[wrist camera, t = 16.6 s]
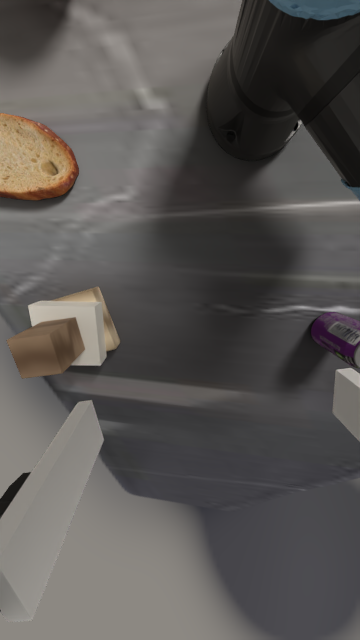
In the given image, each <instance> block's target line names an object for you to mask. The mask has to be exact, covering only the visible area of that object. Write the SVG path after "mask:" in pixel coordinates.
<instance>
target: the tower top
mask: <svg viewBox="0 0 360 640" xmlns="http://www.w3.org/2000/svg"><path fill="white" fill-rule="evenodd" d="M28 308H29V313H30V318H31V323H32V327H33V326H34V325H36V324H38V323H40V322H44V321H51V320H59V319H66V318H73V317H76V320H77V323H78V327H79V330H80V333H81V337H82V340H83V343H84V347H85V350H84V351H83V352H82V353H81V354H80V355H79V356H78V358H77V359H76V360H75V361H74V362H73V363H72V364H71V365H89V366H101V364H102V363H103V361H104V360H105V358H106V357H107V355H106V344H105V333H104V322H103V311H102V302H77V301H39V302H36V303H34V304H31V305H28Z"/></svg>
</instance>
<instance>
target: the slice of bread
mask: <svg viewBox="0 0 360 640" xmlns="http://www.w3.org/2000/svg"><path fill="white" fill-rule="evenodd" d="M78 174H79V168H78V165H77V162H76V159H75V156H74V154H73V151H72V150H71V148H70V147H69V146H68V145H67V144H66V143H65V142H64V141H63V140H62V139H61V138H60V137H58V136H57V135H56V134H55V133H54V132H53V131H52V130H50V129H49V128H48V127H47V126H45V125H43V124H41V123H38V122H34V121H32V120H29V119H26V118H24V117H19V116H14V115H8V114H4V113H0V197H5V198H13V199H22V200H42V199H45V198H53V197H58V196H61V195H63V194H65V193H66V192H67V191H68V190H69V189H70V188H71V187H72V186H73V184H74V182H75V179H76V178H77V176H78Z"/></svg>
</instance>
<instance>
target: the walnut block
mask: <svg viewBox="0 0 360 640" xmlns="http://www.w3.org/2000/svg"><path fill="white" fill-rule="evenodd" d="M7 343H8V346H9V348H10V351H11V353H12V355H13V358H14V360H15V363H16V365H17V368H18V370H19V372H20V375H21V377H22V378H31V377H38V376H46V375H54V374H61V373H63V372H64V371H65V370H66V369H67V368H68V367H69V366H70V365H71V364H72V363H73V362H74V361H75V360H76V359H77V358H78V356H79V355H80V354H81V353H82V352H83V351H84V350H85V347H84V343H83V340H82V337H81V333H80V330H79V327H78V323H77V320H76V317H73V318H66V319H59V320H51V321H44V322H40V323H38V324H36V325H34V326H33V327H31V328H29V329H27V330H25V331H23V332H21V333H19V334H17V335H15V336H13V337H12V338H10V339H8V340H7Z"/></svg>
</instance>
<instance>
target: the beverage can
mask: <svg viewBox="0 0 360 640" xmlns="http://www.w3.org/2000/svg"><path fill="white" fill-rule="evenodd" d="M311 335H312V338H313V340H314V341H315V342H316V343H318V344H319V345H321V346H322V347H324V348H325V349H327V350H328V351H330V352H331V353H333V354H334V355H336V356H337V357H339V358H340V359H342V360H343V361H345V362H346V363H348V364H349V365H351V366H353V367H355V368H360V322H359V321H357V320H354V319H352V318H349V317H347V316H344V315H342V314H339V313H336V312H329V313H325V314H323V315H321V316H320V317H318V318H317V319H316V320H315V322H314V323H313V325H312V328H311Z"/></svg>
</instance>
